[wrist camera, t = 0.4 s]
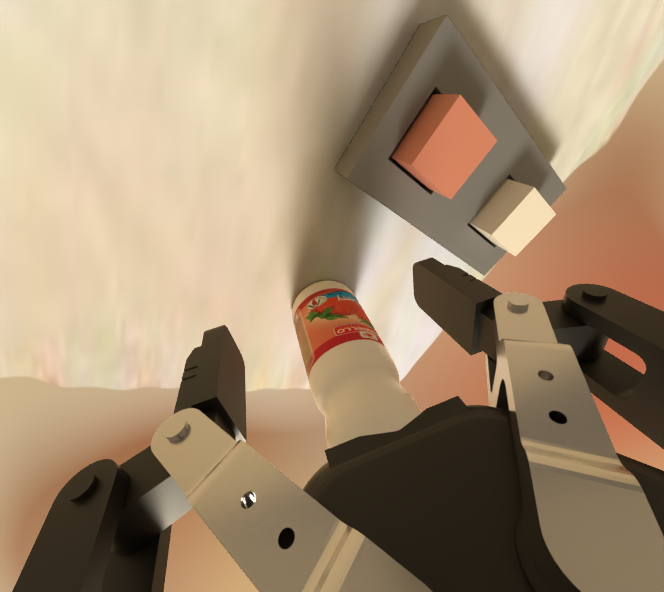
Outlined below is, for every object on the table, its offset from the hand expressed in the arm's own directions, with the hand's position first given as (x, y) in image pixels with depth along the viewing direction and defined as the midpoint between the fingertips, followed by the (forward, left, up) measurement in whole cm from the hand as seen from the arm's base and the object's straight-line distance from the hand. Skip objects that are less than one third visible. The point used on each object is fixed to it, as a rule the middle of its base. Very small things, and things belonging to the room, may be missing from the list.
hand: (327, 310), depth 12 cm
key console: (-11, +18, -22) cm, 31 cm away
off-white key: (-11, +25, -19) cm, 33 cm away
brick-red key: (-11, +11, -19) cm, 25 cm away
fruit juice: (+12, +14, -22) cm, 29 cm away
